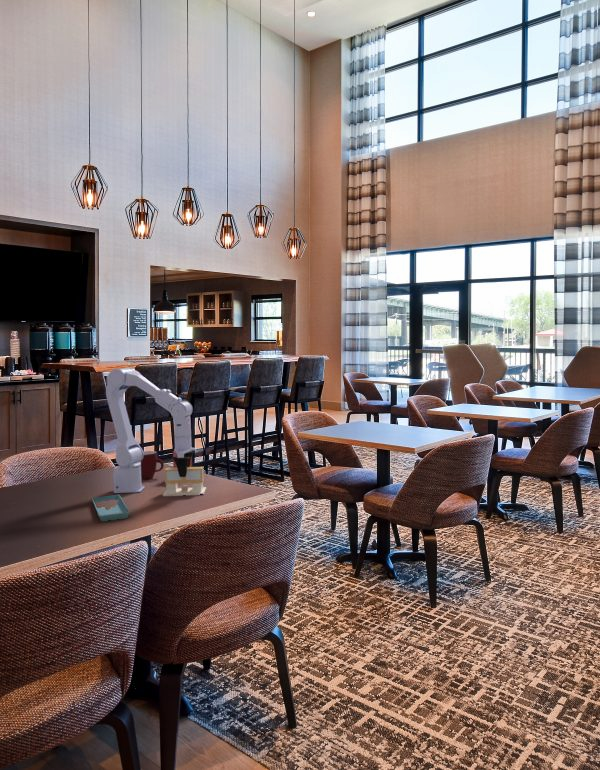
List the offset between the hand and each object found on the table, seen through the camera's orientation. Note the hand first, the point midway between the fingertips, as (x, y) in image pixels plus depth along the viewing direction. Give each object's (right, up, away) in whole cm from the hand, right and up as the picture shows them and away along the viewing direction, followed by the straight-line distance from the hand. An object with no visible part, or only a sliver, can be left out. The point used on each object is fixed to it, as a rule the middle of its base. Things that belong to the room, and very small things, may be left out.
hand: (184, 474), depth 220 cm
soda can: (-5, -5, +24) cm, 25 cm away
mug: (-18, -5, +26) cm, 32 cm away
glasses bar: (0, -3, 0) cm, 3 cm away
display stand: (0, -6, 0) cm, 6 cm away
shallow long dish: (-20, -9, -20) cm, 30 cm away
